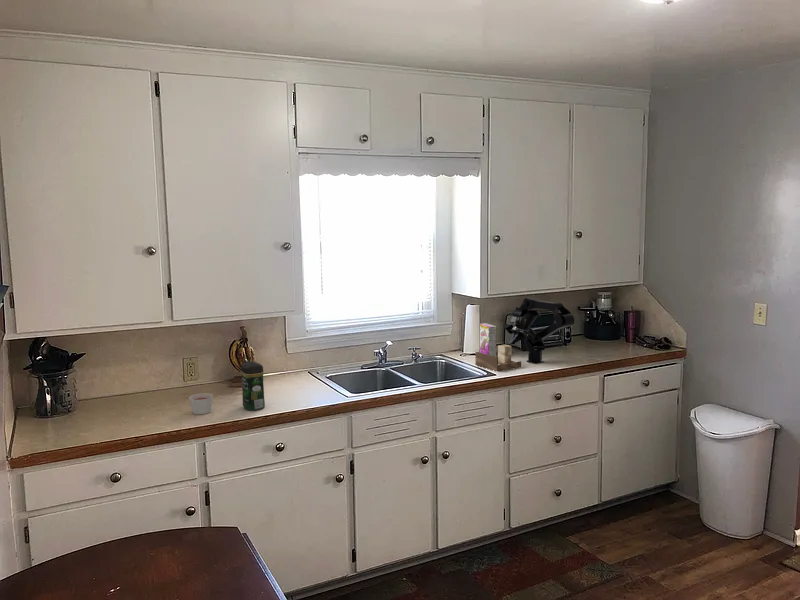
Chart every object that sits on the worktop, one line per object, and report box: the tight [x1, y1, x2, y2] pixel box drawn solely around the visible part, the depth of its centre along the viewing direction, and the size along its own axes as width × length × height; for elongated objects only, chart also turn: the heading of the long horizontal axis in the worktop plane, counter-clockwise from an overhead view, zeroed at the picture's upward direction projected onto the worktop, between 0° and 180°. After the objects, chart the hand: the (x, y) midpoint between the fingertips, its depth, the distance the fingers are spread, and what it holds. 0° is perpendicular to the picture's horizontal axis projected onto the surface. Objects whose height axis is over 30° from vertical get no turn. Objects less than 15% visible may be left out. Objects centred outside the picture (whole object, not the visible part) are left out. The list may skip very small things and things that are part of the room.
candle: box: [188, 392, 214, 415], centre depth 256 cm, size 9×9×6 cm
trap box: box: [475, 351, 522, 372], centre depth 328 cm, size 16×16×7 cm
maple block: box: [497, 344, 512, 363], centre depth 330 cm, size 4×5×8 cm
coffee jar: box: [240, 360, 266, 411], centre depth 261 cm, size 10×8×19 cm
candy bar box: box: [479, 322, 497, 356], centre depth 355 cm, size 11×5×16 cm, turn 22°
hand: (511, 344), depth 332 cm, fingers closed
